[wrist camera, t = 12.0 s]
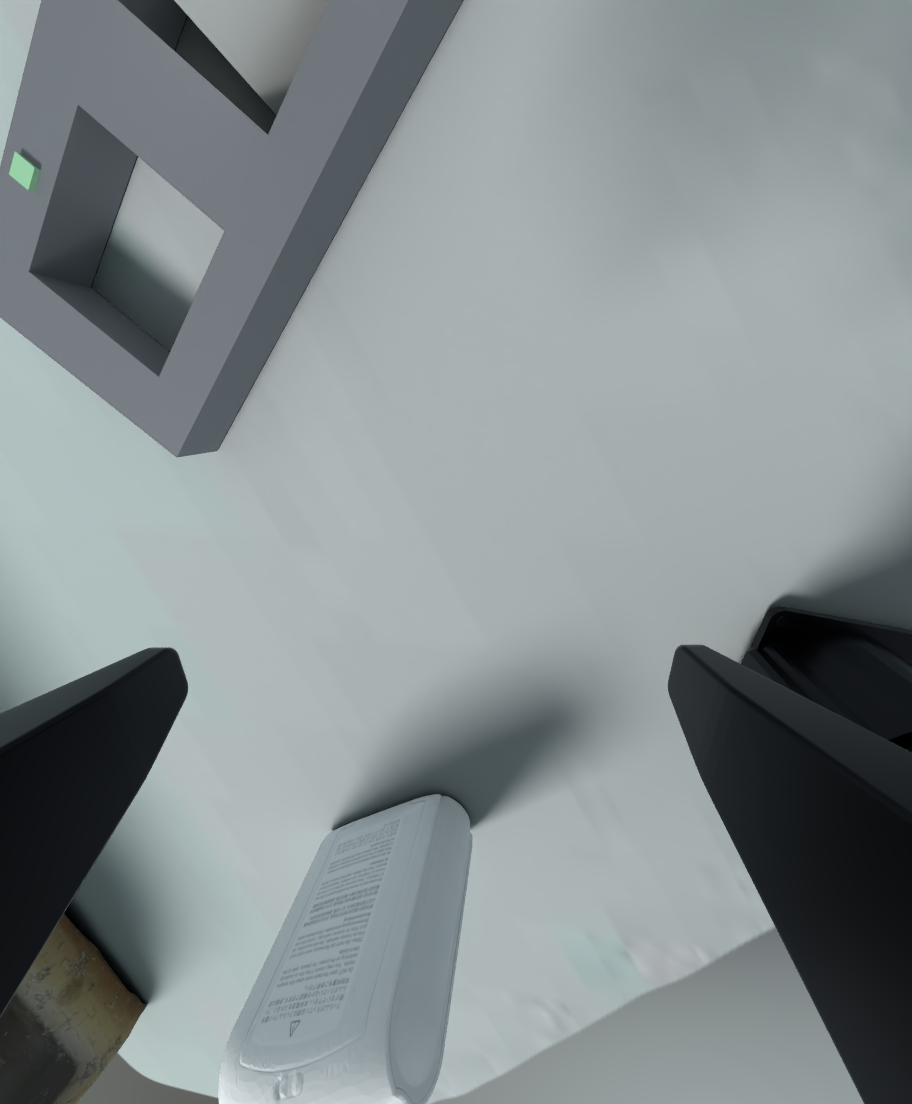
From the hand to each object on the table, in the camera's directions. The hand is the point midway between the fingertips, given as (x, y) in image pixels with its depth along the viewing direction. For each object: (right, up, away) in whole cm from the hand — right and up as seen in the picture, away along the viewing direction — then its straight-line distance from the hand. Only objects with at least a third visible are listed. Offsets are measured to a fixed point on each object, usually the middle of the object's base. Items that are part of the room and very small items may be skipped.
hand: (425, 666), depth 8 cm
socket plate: (-8, +17, +9) cm, 21 cm away
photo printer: (-3, -15, +19) cm, 25 cm away
